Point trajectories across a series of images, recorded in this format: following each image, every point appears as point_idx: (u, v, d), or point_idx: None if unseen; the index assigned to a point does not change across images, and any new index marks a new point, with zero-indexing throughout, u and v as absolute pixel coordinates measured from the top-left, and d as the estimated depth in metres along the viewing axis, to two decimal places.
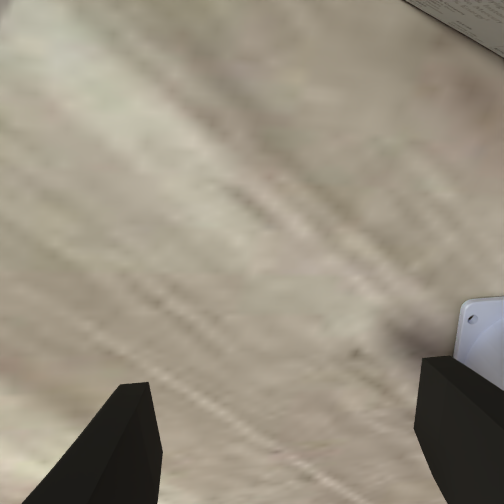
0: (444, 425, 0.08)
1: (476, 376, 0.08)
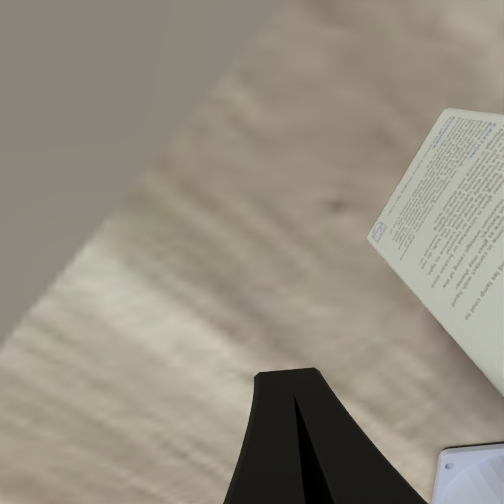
0: None
1: (324, 390, 0.08)
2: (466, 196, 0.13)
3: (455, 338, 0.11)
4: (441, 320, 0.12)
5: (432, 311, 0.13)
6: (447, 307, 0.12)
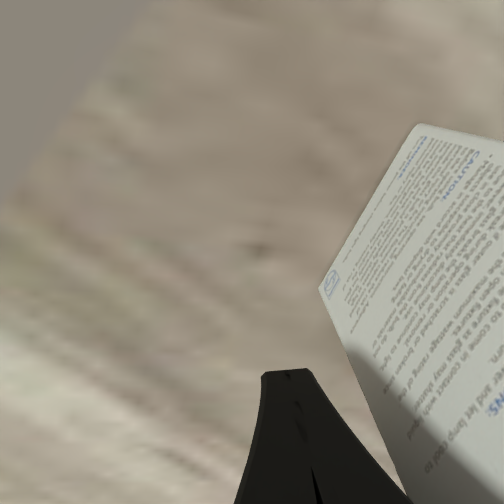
0: None
1: (315, 390, 0.08)
2: (435, 258, 0.09)
3: (409, 498, 0.07)
4: (392, 454, 0.08)
5: (382, 433, 0.08)
6: (401, 437, 0.08)
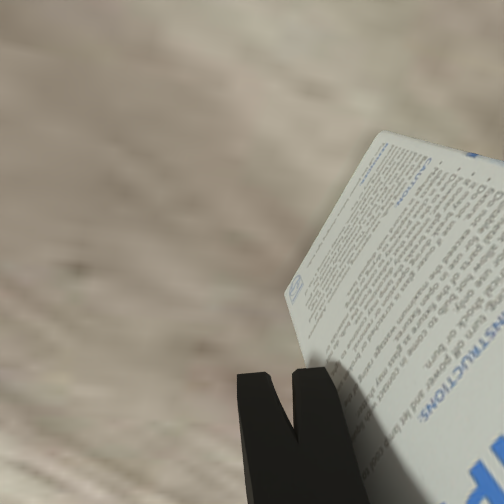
0: None
1: (268, 395, 0.08)
2: (386, 264, 0.09)
3: None
4: None
5: None
6: None
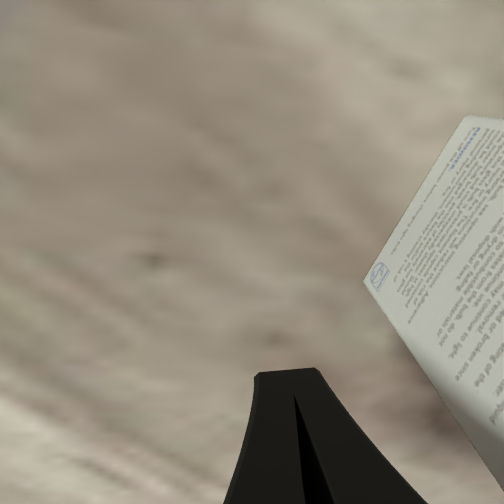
0: None
1: (323, 390, 0.08)
2: None
3: (499, 481, 0.07)
4: (473, 439, 0.08)
5: (458, 419, 0.09)
6: (483, 421, 0.08)
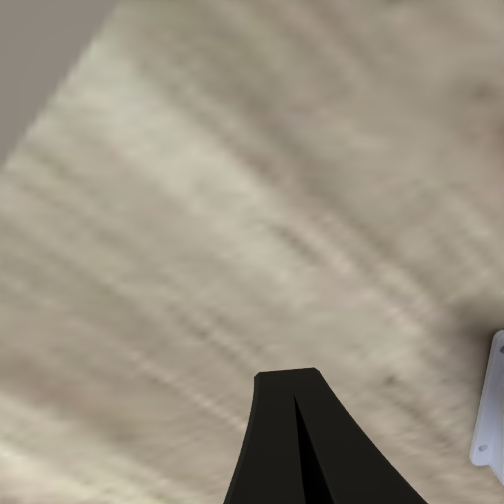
0: None
1: (323, 389, 0.08)
2: None
3: None
4: None
5: None
6: None
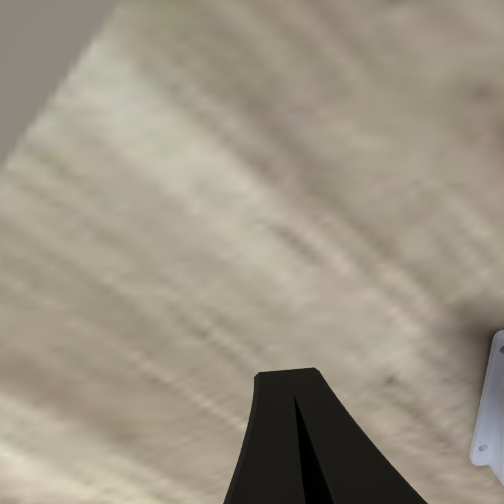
0: None
1: (323, 389, 0.08)
2: None
3: None
4: None
5: None
6: None
